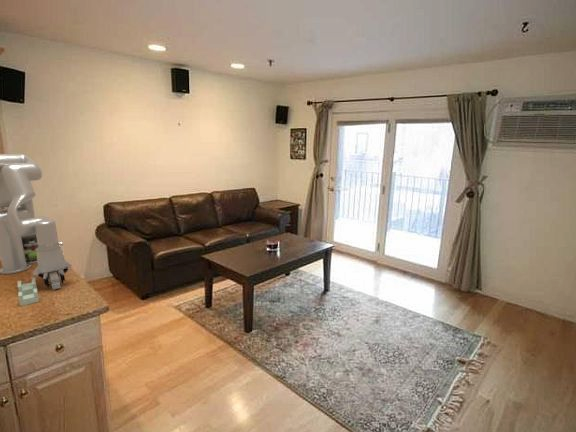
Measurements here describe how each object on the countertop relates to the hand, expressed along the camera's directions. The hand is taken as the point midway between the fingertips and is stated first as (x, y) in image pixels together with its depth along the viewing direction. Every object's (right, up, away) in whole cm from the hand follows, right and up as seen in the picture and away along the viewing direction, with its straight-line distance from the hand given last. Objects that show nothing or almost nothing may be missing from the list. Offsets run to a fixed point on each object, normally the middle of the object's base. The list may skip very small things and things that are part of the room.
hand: (55, 283), depth 151 cm
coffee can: (-34, +7, +30) cm, 46 cm away
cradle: (-6, -4, -8) cm, 11 cm away
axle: (-2, +1, +2) cm, 4 cm away
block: (-7, +1, +8) cm, 11 cm away
